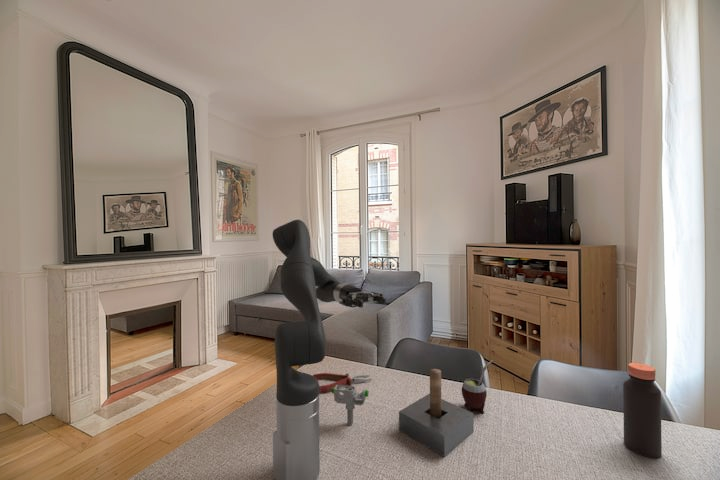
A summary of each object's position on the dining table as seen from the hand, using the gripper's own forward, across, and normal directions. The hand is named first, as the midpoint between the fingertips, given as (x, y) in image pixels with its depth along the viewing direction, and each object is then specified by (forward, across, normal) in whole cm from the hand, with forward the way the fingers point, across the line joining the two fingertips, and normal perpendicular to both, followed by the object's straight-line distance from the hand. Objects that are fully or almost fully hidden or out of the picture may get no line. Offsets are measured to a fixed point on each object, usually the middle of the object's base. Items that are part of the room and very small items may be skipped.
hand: (373, 302), depth 94 cm
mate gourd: (+18, +25, +32) cm, 44 cm away
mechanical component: (+4, -11, +32) cm, 34 cm away
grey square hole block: (+19, +7, +32) cm, 38 cm away
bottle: (+51, +44, +32) cm, 75 cm away
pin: (+19, +7, +32) cm, 38 cm away
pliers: (-18, -3, +33) cm, 37 cm away
